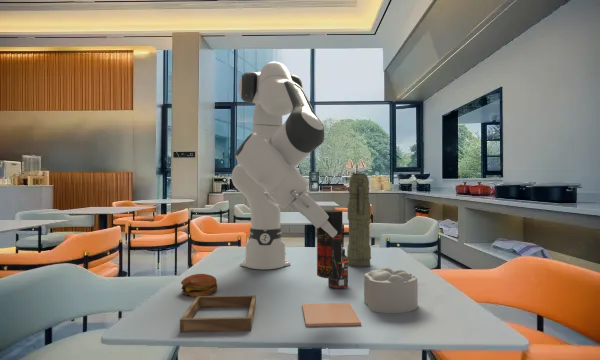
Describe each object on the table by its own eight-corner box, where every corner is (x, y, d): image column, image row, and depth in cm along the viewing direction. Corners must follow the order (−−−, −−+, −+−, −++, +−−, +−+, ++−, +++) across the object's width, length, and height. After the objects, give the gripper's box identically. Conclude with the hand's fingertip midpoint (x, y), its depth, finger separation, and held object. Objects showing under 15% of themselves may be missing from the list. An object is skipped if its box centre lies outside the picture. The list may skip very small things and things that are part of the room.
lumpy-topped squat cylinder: (361, 298, 89) (361, 266, 90) (408, 297, 90) (408, 265, 90) (372, 313, 79) (372, 276, 79) (425, 312, 80) (425, 276, 80)
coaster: (302, 306, 83) (302, 303, 83) (349, 305, 84) (349, 303, 84) (306, 326, 71) (306, 323, 71) (361, 325, 72) (361, 322, 72)
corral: (197, 306, 83) (197, 296, 83) (255, 305, 84) (255, 295, 84) (179, 332, 68) (179, 319, 68) (250, 330, 69) (251, 318, 69)
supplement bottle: (347, 290, 96) (347, 251, 97) (327, 288, 98) (327, 250, 98) (348, 284, 102) (348, 247, 102) (329, 282, 103) (329, 246, 104)
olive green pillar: (351, 268, 121) (351, 173, 122) (344, 261, 133) (344, 174, 134) (375, 268, 122) (375, 173, 123) (365, 260, 134) (365, 174, 135)
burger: (217, 286, 100) (217, 270, 100) (216, 296, 91) (216, 279, 91) (183, 288, 98) (183, 272, 98) (178, 299, 89) (178, 281, 89)
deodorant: (315, 271, 80) (315, 210, 81) (339, 271, 81) (339, 210, 81) (319, 278, 74) (319, 212, 75) (344, 278, 75) (345, 211, 75)
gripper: (304, 180, 67) (351, 228, 68) (298, 182, 88) (334, 219, 88) (282, 202, 67) (329, 250, 67) (281, 199, 87) (317, 235, 88)
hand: (332, 232), depth 78 cm, fingers closed on deodorant, 6 cm apart
